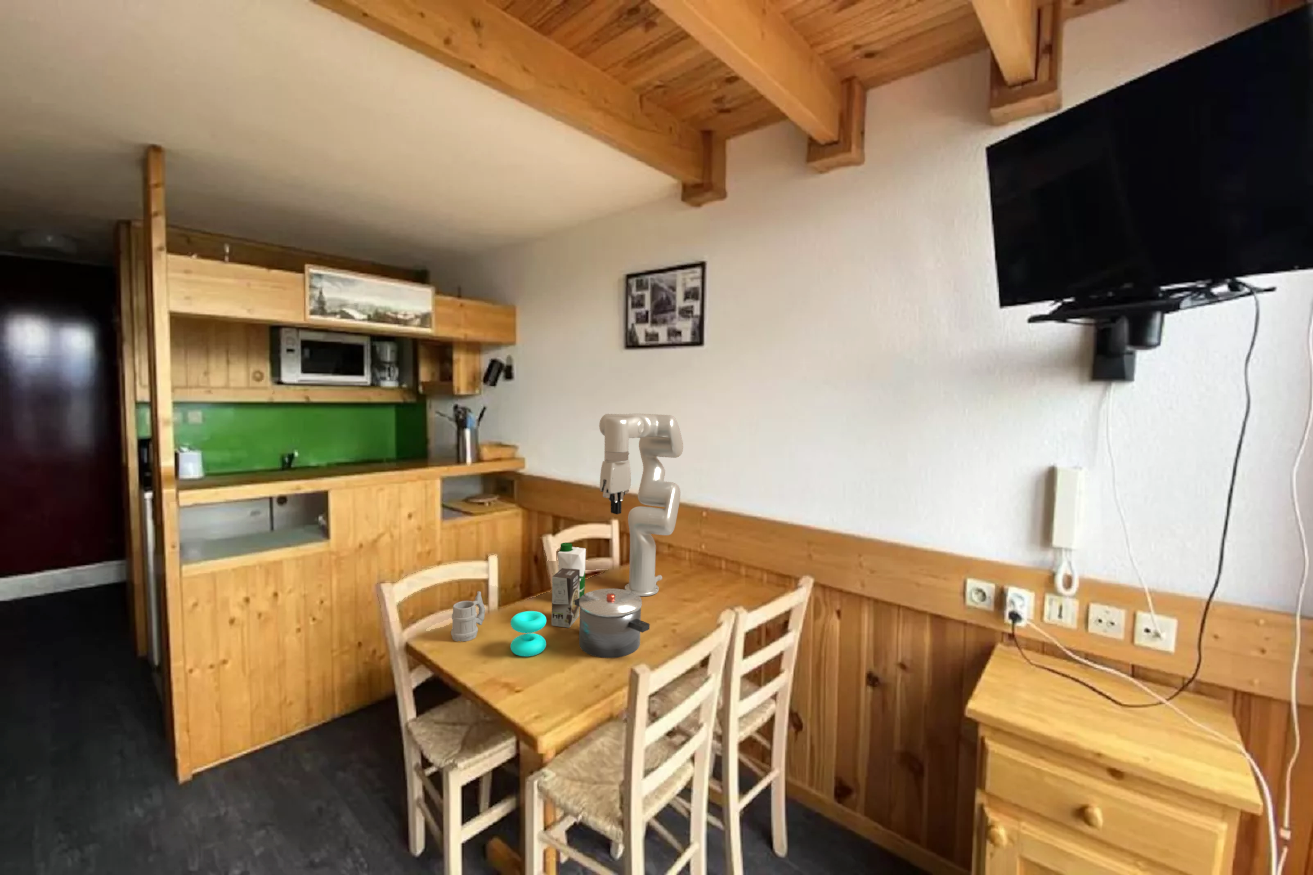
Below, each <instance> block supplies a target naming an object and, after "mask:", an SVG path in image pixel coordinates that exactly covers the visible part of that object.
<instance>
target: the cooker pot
mask: <svg viewBox="0 0 1313 875" xmlns="http://www.w3.org/2000/svg"><path fill="white" fill-rule="evenodd" d="M579 600H580V598H578V599H576V600H575V605H577V606H579ZM641 618H642V607H641V608H640V609H639V610H638V611H637V612H635V613H632V614H630V615H626V616H620V617H600V616H594V615H591V614H588V613H586V612H584V611H583V610H581V608H580V607H579V640H578V642H579V648H580V650H582V651H583V653H586V654H588V655H590V656H592V657H596V658H603V659H604V658H605V659H606V658H607V659H615V658H620V657H625V656H628V655H631V654H633V653H635V652H636V651H637V650H638V649H639V648H640V645H641V633H642V634H643V633H645V632H647V631H649V630H650V626H651V624H650V623H648V622H646V621H643V620H641Z"/></svg>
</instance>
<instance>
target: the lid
mask: <svg viewBox="0 0 1313 875" xmlns="http://www.w3.org/2000/svg"><path fill="white" fill-rule="evenodd" d="M642 600H643V599H642V596H639V595H637V594H636V593H634V592H631V591H627V590H625V589H621V588H600V589H596V590H595V589H594V590H591V591H588V592H586V593H584V595H583V596H581V598H580V600H579V609H580V608H581V610H583V611H584V612H586V613H588V614H591V615H594V616H600V617H620V616H626V615H630V614H632V613H635V612H637V611H638V610H639V609H640V608H641V609H642V605H643V604H642V603H643V601H642Z"/></svg>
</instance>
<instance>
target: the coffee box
mask: <svg viewBox="0 0 1313 875" xmlns="http://www.w3.org/2000/svg"><path fill="white" fill-rule="evenodd" d="M551 578H552V582H551V587H552V588H551V626H554V627H562V628H571V626H572V625H573V624H574V623H575V621H577V619H578V618H580V607H579V606H577V605H575V600H576V599H578V598H579V584H580V570H579V569H566V568H562V569H561V570H560V571H557V572H556V573H555V574H554V575H552V576H551Z"/></svg>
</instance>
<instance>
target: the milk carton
mask: <svg viewBox="0 0 1313 875" xmlns="http://www.w3.org/2000/svg"><path fill="white" fill-rule="evenodd" d="M586 550H587V549H586V548H584V547H577V546H576V547H575V546H573V543H571V542H562V543H560V549H559V550H558V552H557V558H558V560H557V561H558V562H557V563H558V565H557V566H558V567H557V568H558V569H557V570H558V571H560V570H561V569H562V568H566V569H579V570H580V584H579V598H581V596H583V595H584V594H585V588H586V553H587V551H586ZM558 571H557V572H558Z"/></svg>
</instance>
